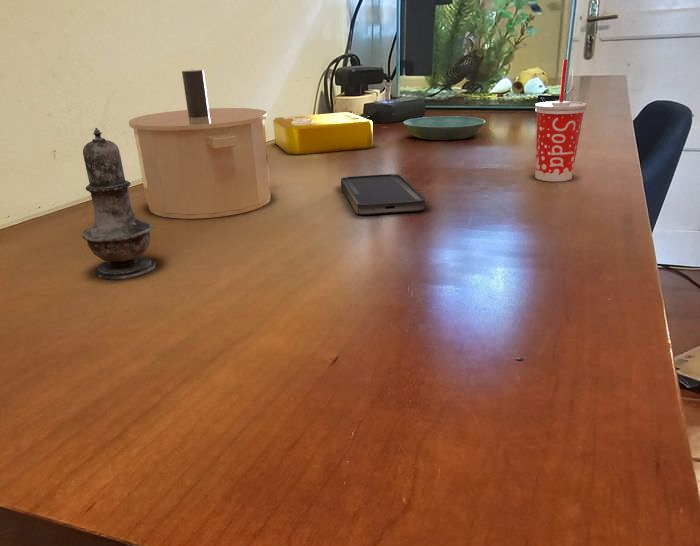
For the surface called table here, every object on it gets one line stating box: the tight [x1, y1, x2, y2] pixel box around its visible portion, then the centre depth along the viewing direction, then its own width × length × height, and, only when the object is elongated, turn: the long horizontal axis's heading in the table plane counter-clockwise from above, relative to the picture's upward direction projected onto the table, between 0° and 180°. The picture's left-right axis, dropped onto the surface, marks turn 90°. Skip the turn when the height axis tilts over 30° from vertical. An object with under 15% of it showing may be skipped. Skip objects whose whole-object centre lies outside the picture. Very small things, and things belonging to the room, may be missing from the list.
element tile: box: [272, 112, 374, 156], centre depth 112 cm, size 15×15×5 cm
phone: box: [340, 173, 426, 216], centre depth 76 cm, size 8×1×15 cm
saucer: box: [403, 115, 486, 141], centre depth 116 cm, size 15×15×3 cm
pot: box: [132, 119, 272, 220], centre depth 76 cm, size 15×20×10 cm
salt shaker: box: [81, 127, 157, 281], centre depth 54 cm, size 6×6×12 cm
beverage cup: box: [534, 59, 588, 182], centre depth 80 cm, size 6×6×14 cm
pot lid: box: [128, 69, 268, 131], centre depth 73 cm, size 16×16×6 cm
